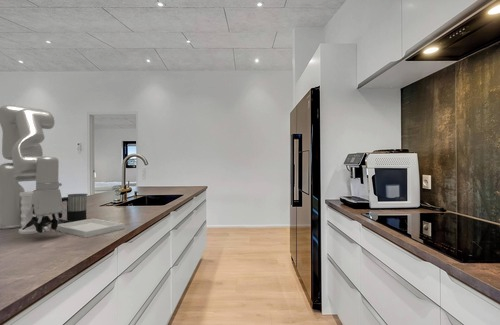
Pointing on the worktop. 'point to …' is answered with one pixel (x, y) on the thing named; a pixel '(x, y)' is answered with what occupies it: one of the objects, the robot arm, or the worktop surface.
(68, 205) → the milk frother
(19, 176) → the robot arm
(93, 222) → the tray
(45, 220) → the power plug
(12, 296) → the worktop surface
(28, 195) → the decorative container
